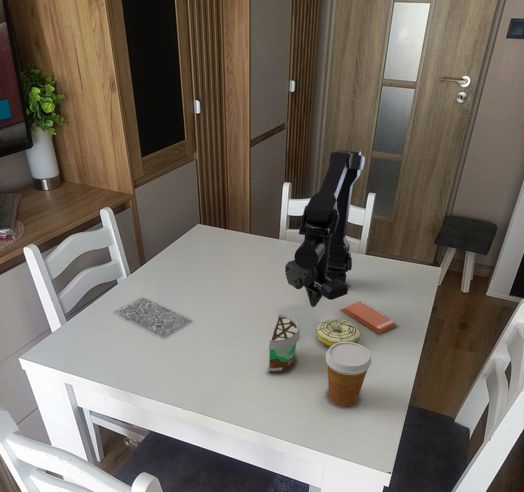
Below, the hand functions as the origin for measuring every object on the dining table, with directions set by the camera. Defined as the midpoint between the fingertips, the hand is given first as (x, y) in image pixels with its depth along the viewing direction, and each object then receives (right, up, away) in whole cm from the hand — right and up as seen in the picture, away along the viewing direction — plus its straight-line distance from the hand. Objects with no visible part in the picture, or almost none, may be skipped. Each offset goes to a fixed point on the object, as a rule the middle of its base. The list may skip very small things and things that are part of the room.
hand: (313, 306), depth 129 cm
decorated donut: (+6, -9, -4) cm, 11 cm away
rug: (-44, -3, +4) cm, 44 cm away
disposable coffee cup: (+4, -22, -22) cm, 31 cm away
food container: (-8, -15, -12) cm, 21 cm away
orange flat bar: (+16, -3, +5) cm, 17 cm away
